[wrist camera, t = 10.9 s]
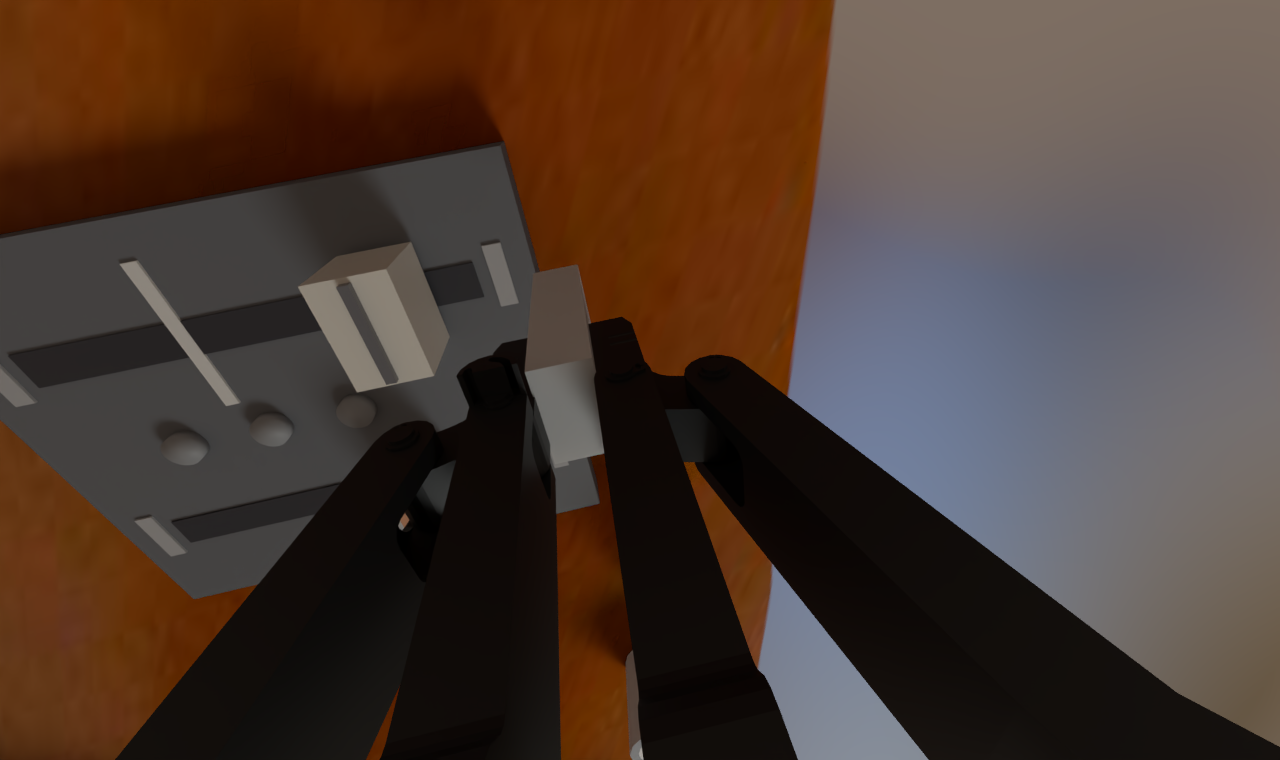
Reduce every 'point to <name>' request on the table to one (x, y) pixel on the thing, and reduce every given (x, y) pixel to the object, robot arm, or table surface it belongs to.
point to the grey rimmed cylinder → (633, 709)
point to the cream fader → (378, 316)
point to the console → (248, 350)
